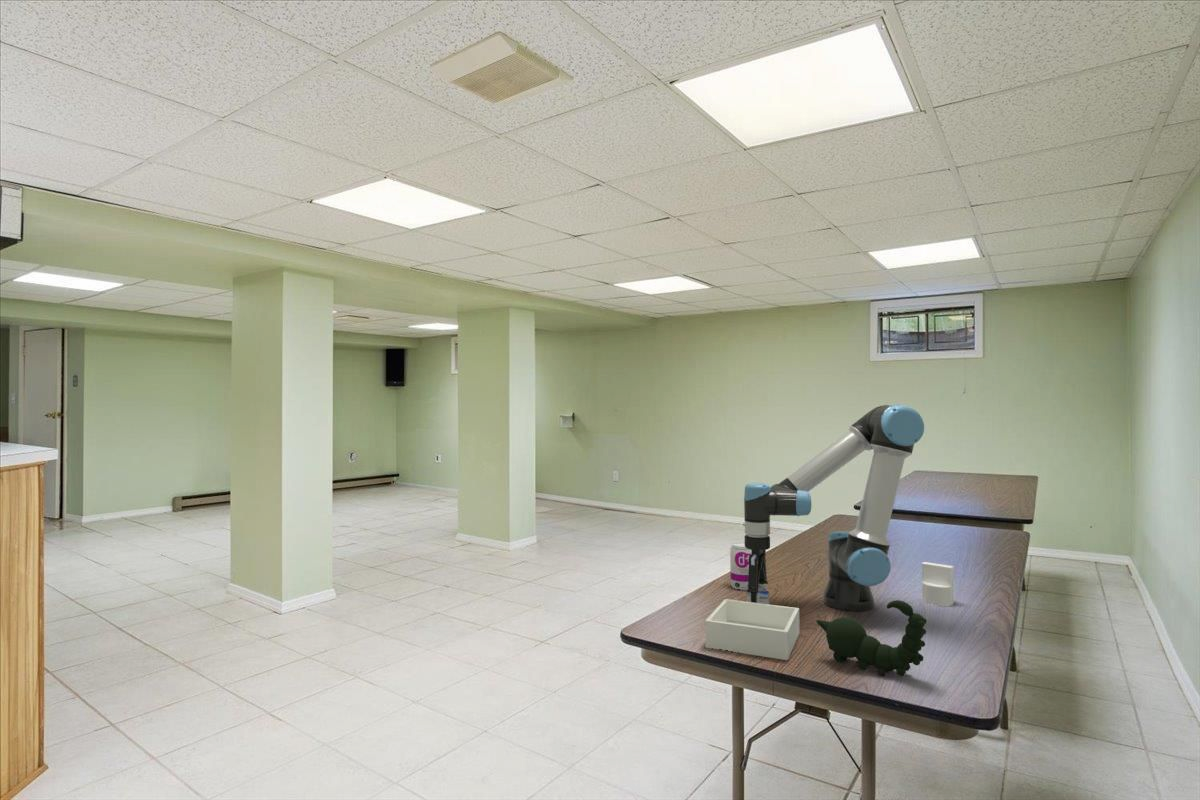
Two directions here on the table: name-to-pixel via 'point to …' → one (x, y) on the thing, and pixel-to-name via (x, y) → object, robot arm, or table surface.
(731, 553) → the supplement can
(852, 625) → the toy figurine
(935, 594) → the cylinder with rectangular tab
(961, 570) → the table surface
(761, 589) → the medicine box
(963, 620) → the table surface
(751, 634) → the open bin
